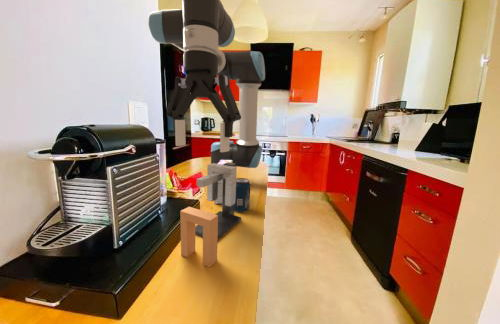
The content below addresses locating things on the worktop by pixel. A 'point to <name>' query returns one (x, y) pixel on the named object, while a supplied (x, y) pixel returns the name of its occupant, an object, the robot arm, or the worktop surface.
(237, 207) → the soda can
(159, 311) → the worktop surface
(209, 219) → the orange link
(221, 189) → the candy box
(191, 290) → the worktop surface
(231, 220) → the stand
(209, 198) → the grey link
